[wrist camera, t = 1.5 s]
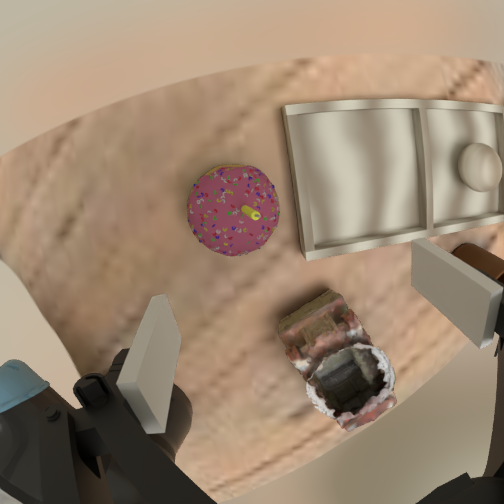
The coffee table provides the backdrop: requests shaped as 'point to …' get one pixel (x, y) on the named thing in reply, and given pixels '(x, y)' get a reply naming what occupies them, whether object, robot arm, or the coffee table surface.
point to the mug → (481, 260)
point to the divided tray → (387, 171)
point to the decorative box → (338, 361)
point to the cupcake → (233, 209)
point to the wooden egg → (480, 167)
